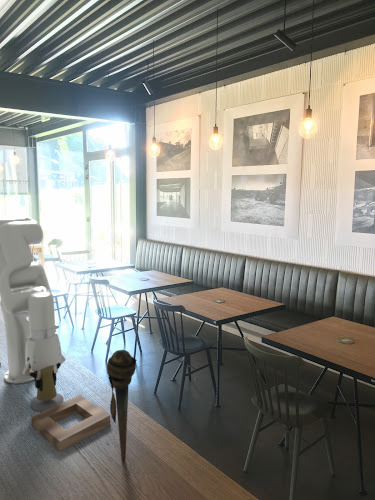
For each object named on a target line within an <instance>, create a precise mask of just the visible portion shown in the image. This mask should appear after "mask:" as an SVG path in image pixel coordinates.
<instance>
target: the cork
mask: <svg viewBox="0 0 375 500" xmlns="http://www.w3.org/2000/svg"><path fill="white" fill-rule="evenodd" d="M53 370H54V366H53V365H52V366H48V367H46V368H44V369H42V370H41V371H40V374H41V379H42V382H43V386H42V388H43V390H42V391H40V389H39V388H38V389H36V397H37V399H38V400H40V401H48V400H51V399H53V398H55V397H56V395H57V393H58V392H57V389H56V385H54V380H53V374H52V372H53ZM36 372H37V371H36Z"/></svg>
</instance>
